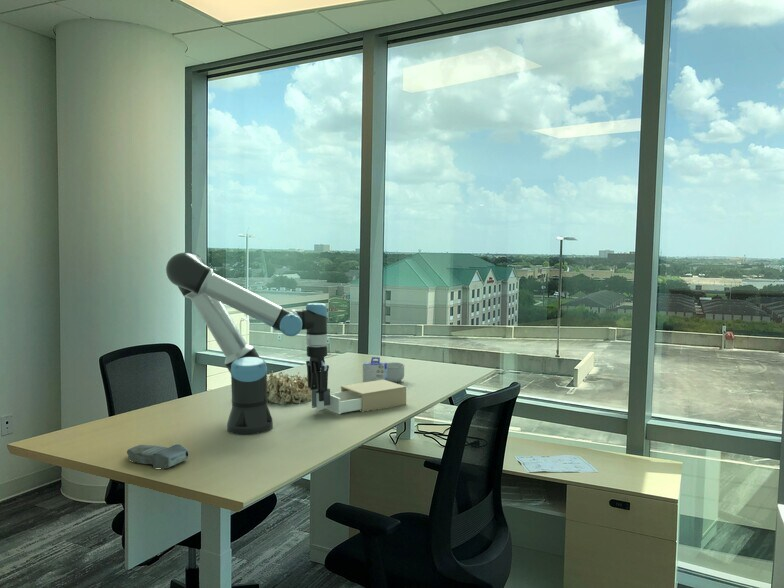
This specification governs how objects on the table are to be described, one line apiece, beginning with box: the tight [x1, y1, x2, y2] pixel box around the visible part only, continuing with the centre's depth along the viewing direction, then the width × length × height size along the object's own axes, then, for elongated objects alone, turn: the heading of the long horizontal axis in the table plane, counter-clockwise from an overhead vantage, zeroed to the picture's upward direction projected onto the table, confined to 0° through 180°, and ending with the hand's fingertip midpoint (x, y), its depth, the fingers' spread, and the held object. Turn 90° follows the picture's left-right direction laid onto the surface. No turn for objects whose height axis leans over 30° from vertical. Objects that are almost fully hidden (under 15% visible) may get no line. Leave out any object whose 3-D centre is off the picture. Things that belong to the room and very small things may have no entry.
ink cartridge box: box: [362, 356, 388, 383], centre depth 259 cm, size 10×6×14 cm, turn 78°
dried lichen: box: [267, 370, 312, 406], centre depth 250 cm, size 27×30×11 cm
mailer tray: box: [311, 387, 362, 415], centre depth 231 cm, size 26×16×8 cm, turn 125°
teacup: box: [386, 362, 405, 384], centre depth 279 cm, size 14×11×8 cm
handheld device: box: [126, 444, 189, 470], centre depth 175 cm, size 10×20×5 cm, turn 66°
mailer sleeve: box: [340, 380, 407, 412], centre depth 238 cm, size 20×16×7 cm
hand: (317, 408), depth 224 cm, fingers closed on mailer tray, 3 cm apart
